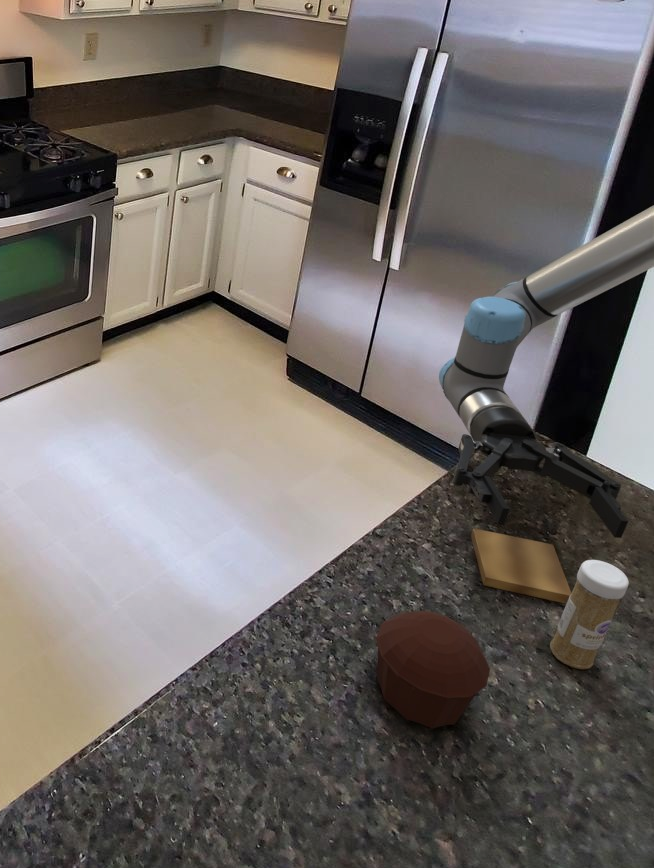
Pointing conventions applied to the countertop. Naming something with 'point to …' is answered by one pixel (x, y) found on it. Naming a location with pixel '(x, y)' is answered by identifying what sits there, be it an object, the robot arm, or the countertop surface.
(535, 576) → the cutting board
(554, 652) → the sprinkles bottle
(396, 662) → the muffin
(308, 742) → the countertop surface
